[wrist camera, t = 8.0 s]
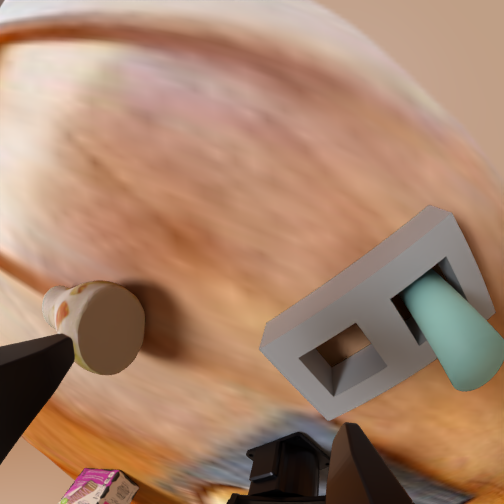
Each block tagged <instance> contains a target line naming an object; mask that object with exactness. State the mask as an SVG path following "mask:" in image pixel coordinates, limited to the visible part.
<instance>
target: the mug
mask: <svg viewBox="0 0 504 504" xmlns="http://www.w3.org/2000/svg"><path fill="white" fill-rule="evenodd" d="M42 312H43V316H44V319H45V320H46V322H47V323H48V324H49V325H50V326H51V327H53V328H54V329H56V331H57V333H58V334H60V333H63V334H65V335H67V336H69V337H71V338H72V340H73V346H74V352H75V360H74V362H75V363H76V364H78V365H79V366H80V367H82V368H83V369H85V370H87V371H90V372H92V373H96V374H100V375H114V374H117V373H119V372H121V371H122V370H124V369H125V368H127V367H128V366H129V365H130V364H131V363H132V362H133V360H134V359H135V358H136V356H137V353H138V352H139V349H140V348H141V346H142V343H143V338H144V327H145V314H144V310H143V308H142V306H141V303H140V302H139V301H138V298H137V297H136V296H135V295H133V294H132V293H131V292H130V291H128V290H127V289H126V288H124V287H122V286H121V285H118V284H116V283H113V282H109V281H90V282H86V283H83V284H80V285H78V286H76V287H73V288H68V287H65V286H55V287H53V288H51V289H50V290H49V291H48V292H47V293H46V294H45V296H44V298H43V303H42Z"/></svg>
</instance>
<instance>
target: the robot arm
mask: <svg viewBox="0 0 504 504" xmlns="http://www.w3.org/2000/svg"><path fill="white" fill-rule="evenodd" d="M74 360H75V352H74V346H73V340H72V338H71V337H69V336H67V335H65V334H63V333H60V334H56V335H51V336H47V337H43V338H38V339H34V340H29V341H24V342H20V343H15V344H10V345H6V346H1V347H0V465H1V463H2V462H3V460H4V459H5V457H6V456H7V454H8V453H9V452H10V450H11V449H12V448H13V446H14V445H15V443H16V442H17V441H18V439H19V438H20V437H21V435H22V434H23V433H24V431H25V430H26V429H27V427H28V426H29V425H30V423H31V422H32V421H33V419H34V418H35V417H36V415H37V414H38V413H39V412H40V410H41V409H42V408H43V406H44V405H45V404H46V403H47V401H48V400H49V399H50V398H51V396H52V395H53V394H54V392H55V391H56V389H57V388H58V386H59V384H60V383H61V381H62V380H63V378H64V377H65V375H66V373H67V372H68V370H69V369H70V367H71V366H72V364H73V362H74ZM296 437H298V438H296ZM246 456H247V457H248V458H250V459H251V460H252V461H253V466H252V470H251V474H250V478H249V480H250V481H251V485H250V489H249V493H248V495H239V494H237V493H233V494H232V495H231V497H230V499H229V500H228V502H227V504H415V503H412V499H411V498H410V497H409V495H408V494H407V493H406V491H405V490H404V488H403V487H402V486H401V484H400V483H399V481H398V480H397V479H396V477H395V476H394V474H393V473H392V472H391V470H390V469H389V467H388V466H387V465H386V463H385V462H384V460H383V459H382V458H381V456H380V455H379V453H378V452H377V451H376V449H375V448H374V446H373V445H372V443H371V442H370V441H369V439H368V438H367V436H366V435H365V434H364V432H363V431H362V429H361V428H360V426H359V425H358V424H356V423H348V422H345V423H344V424H343V425H342V426H341V428H340V430H339V431H338V433H337V435H336V436H335V438H334V440H333V444H332V451H331V458H329V457H328V456H327V455H326V454H324V453H323V452H322V451H321V450H320V449H318V448H317V447H316V446H315V445H314V444H312V443H311V442H310V441H309V440H308V439H307V438H306V437H304V436H303V435H302V434H301V433H294V434H291V435H289V436H286V437H284V438H281V439H278V440H276V441H273V442H270V443H268V444H265V445H262V446H259V447H256V448H253V449H250V450H248V451H247V453H246ZM327 467H329V472H328V478H327V487H326V495H325V496H318V493H319V470H321V469H324V468H327Z"/></svg>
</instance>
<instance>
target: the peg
mask: <svg viewBox="0 0 504 504" xmlns="http://www.w3.org/2000/svg"><path fill="white" fill-rule="evenodd" d="M398 294H399V296H400V297H401V299H402V301H403V302H404V304H405V305H406V307H407V308H408V310H409V311H410V313H411V315H412V316H413V318H414V319H415V321H416V323H417V324H418V326H419V327H420V329H421V331H422V332H423V334H424V336H425V337H426V339H427V341H428V342H429V344H430V346H431V347H432V349H433V351H434V353H435V354H436V356H437V358H438V360H439V361H440V363H441V365H442V367H443V368H444V370H445V372H446V374H447V376H448V378H449V379H450V381H451V383H452V385H453V386H454V388H455V389H457V390H459V391H471V390H475V389H477V388H479V387H481V386H483V385H484V384H486V383H487V382H488V381H489V380H490V379H491V378H492V377H493V376H494V375H495V374H496V373H497V372H498V370H499V369H500V367H501V365H502V363H503V361H504V339H503V338H502V336H501V335H500V334H499V333H498V332H497V331H496V330H495V329H494V328H493V327H492V326H491V325H490V324H489V323H488V322H487V321H486V320H485V319H484V318H483V317H482V316H481V315H480V314H479V313H478V311H477V310H476V309H475V308H473V307H472V306H471V305H470V304H469V303H468V302H467V301H466V300H465V299H464V298H463V297H462V296H461V295H460V294H459V293H458V292H457V291H456V290H455V289H454V288H453V287H452V286H451V285H450V284H448V283H447V282H446V281H445V280H444V279H443V278H442V277H441V276H440V275H439V274H438V273H436V272H435V271H434V270H433V269H432V268H431V269H429V270H428V271H427V272H426V273H424V274H423V275H422V276H420V277H419V278H418V279H417V280H415V281H414V282H413V283H411V284H410V285H409V286H407V287H406V288H405V289H403V290H402V291H400V292H399V293H398Z"/></svg>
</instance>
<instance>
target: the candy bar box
mask: <svg viewBox="0 0 504 504" xmlns="http://www.w3.org/2000/svg"><path fill="white" fill-rule="evenodd" d="M138 489H139V487H138V486H137V485H136V484H135V483H134V482H133V481H131V480H130V479H129V478H128V477H127V476H126V475H125V474H124V473H122V472H121V471H120V470H103V469H90V468H84V470H83V471H82V472H81V474H80V475H79V476H78V478H77V479H76V480H75V482H74V483H73V484H72V486H71V487H70V488H69V490H68V491H67V492H66V494H65V495H64V496H63V498H62V499H61V500H60V502H59V503H58V504H130V503H131V501H132V499H133V498H134V496H135V494H136V492H137V490H138Z"/></svg>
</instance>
